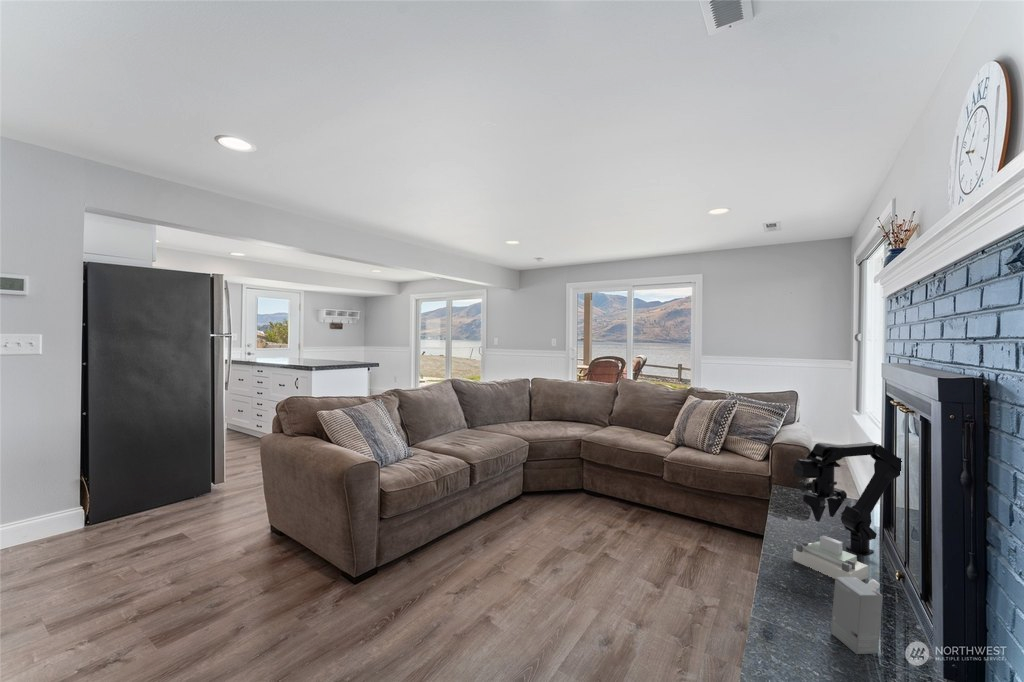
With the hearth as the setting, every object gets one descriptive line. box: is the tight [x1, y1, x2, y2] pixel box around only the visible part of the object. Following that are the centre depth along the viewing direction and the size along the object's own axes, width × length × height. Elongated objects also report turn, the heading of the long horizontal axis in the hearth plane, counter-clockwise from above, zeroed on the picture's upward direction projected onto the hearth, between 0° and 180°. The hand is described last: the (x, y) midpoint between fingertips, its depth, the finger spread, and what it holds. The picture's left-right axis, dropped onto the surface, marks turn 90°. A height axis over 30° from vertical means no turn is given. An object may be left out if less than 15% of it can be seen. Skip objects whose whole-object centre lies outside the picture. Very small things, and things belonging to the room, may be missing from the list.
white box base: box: [792, 541, 869, 581], centre depth 151 cm, size 11×18×6 cm, turn 27°
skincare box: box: [830, 577, 884, 655], centre depth 114 cm, size 8×7×16 cm
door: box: [799, 535, 858, 569], centre depth 151 cm, size 9×16×6 cm, turn 27°
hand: (824, 518), depth 164 cm, fingers open, 9 cm apart
